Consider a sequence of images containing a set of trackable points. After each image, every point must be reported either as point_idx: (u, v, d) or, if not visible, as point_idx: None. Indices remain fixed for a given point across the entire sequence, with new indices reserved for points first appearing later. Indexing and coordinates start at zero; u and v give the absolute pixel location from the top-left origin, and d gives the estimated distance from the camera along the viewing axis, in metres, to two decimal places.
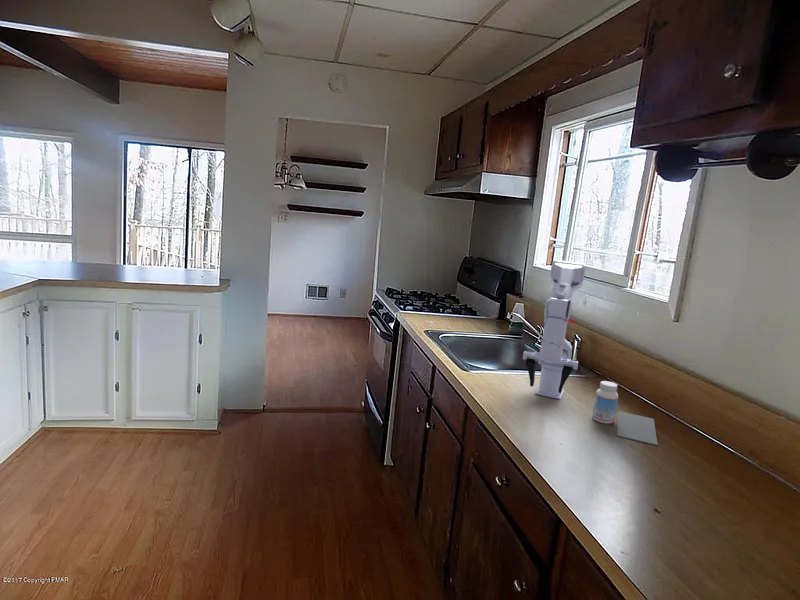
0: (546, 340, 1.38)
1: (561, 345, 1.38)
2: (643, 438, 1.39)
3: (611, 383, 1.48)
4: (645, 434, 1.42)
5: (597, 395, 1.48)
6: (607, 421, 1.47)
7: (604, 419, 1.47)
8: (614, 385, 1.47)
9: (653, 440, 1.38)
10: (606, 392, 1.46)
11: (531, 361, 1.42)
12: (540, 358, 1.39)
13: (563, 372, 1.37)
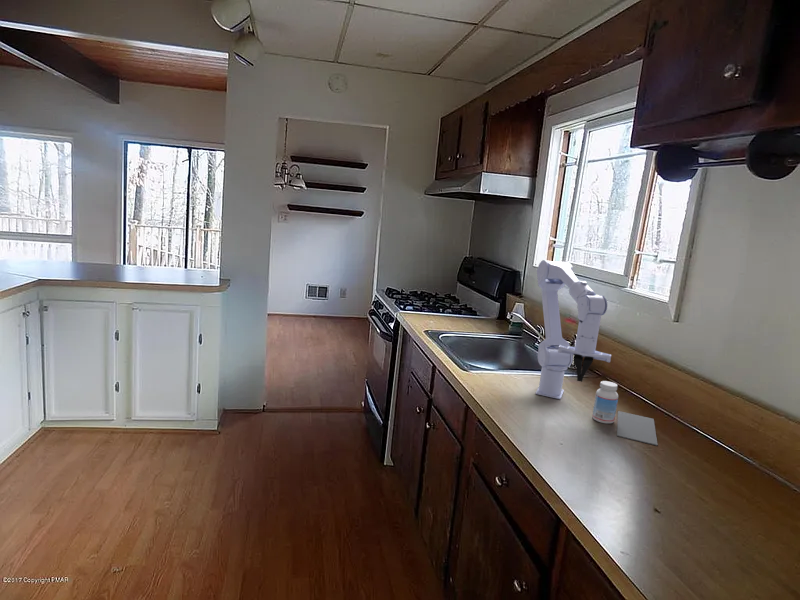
0: (587, 336, 1.46)
1: (595, 339, 1.46)
2: (643, 438, 1.39)
3: (611, 383, 1.48)
4: (645, 434, 1.42)
5: (597, 395, 1.48)
6: (607, 421, 1.47)
7: (604, 419, 1.47)
8: (614, 385, 1.47)
9: (653, 440, 1.38)
10: (606, 392, 1.46)
11: (578, 357, 1.49)
12: (575, 351, 1.48)
13: (584, 362, 1.47)
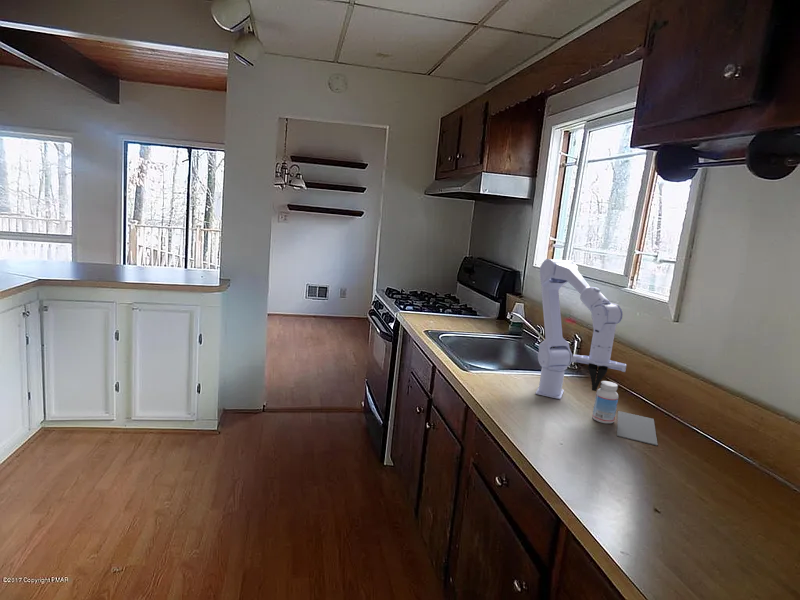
0: (604, 345, 1.44)
1: (610, 348, 1.45)
2: (643, 438, 1.39)
3: (611, 383, 1.48)
4: (645, 434, 1.42)
5: (597, 395, 1.48)
6: (607, 421, 1.47)
7: (604, 419, 1.47)
8: (614, 385, 1.47)
9: (653, 440, 1.38)
10: (606, 392, 1.46)
11: (593, 366, 1.48)
12: (590, 361, 1.47)
13: (599, 371, 1.46)
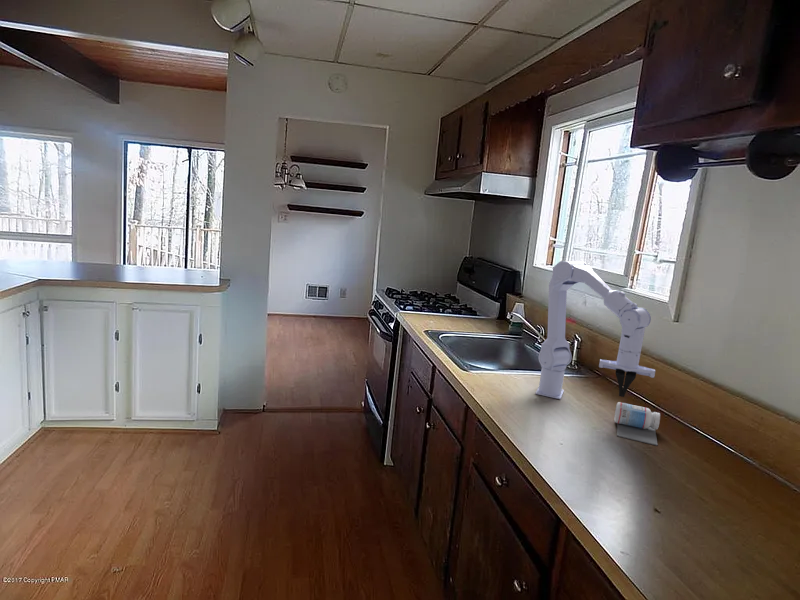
0: (634, 351, 1.42)
1: (639, 354, 1.42)
2: (643, 438, 1.39)
3: None
4: (645, 434, 1.42)
5: (645, 412, 1.43)
6: (618, 420, 1.45)
7: (620, 418, 1.45)
8: None
9: (653, 440, 1.38)
10: (650, 421, 1.43)
11: (621, 372, 1.45)
12: (617, 366, 1.44)
13: (627, 377, 1.43)
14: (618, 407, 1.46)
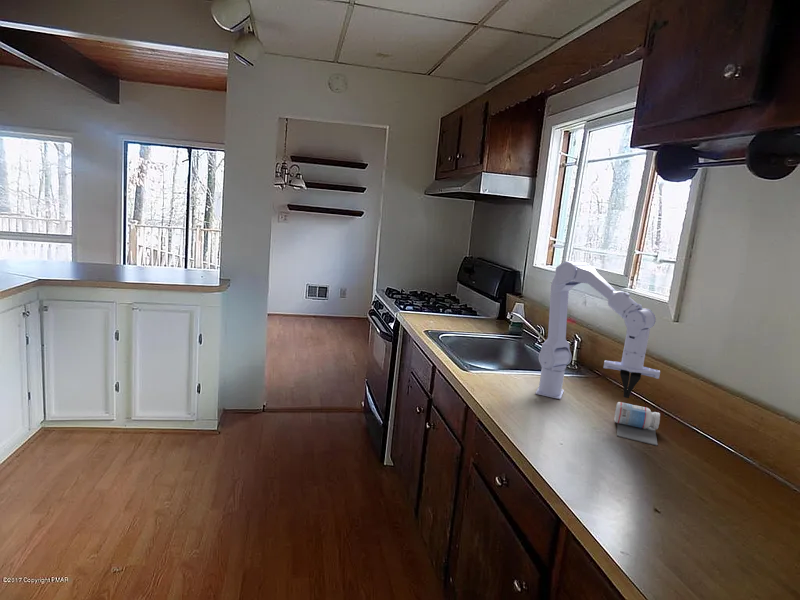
0: (639, 352, 1.41)
1: (644, 355, 1.42)
2: (643, 438, 1.39)
3: None
4: (645, 434, 1.42)
5: (645, 411, 1.43)
6: (618, 420, 1.46)
7: (620, 417, 1.45)
8: None
9: (653, 440, 1.38)
10: (650, 421, 1.43)
11: (625, 373, 1.45)
12: (622, 367, 1.44)
13: (632, 378, 1.43)
14: (618, 406, 1.46)
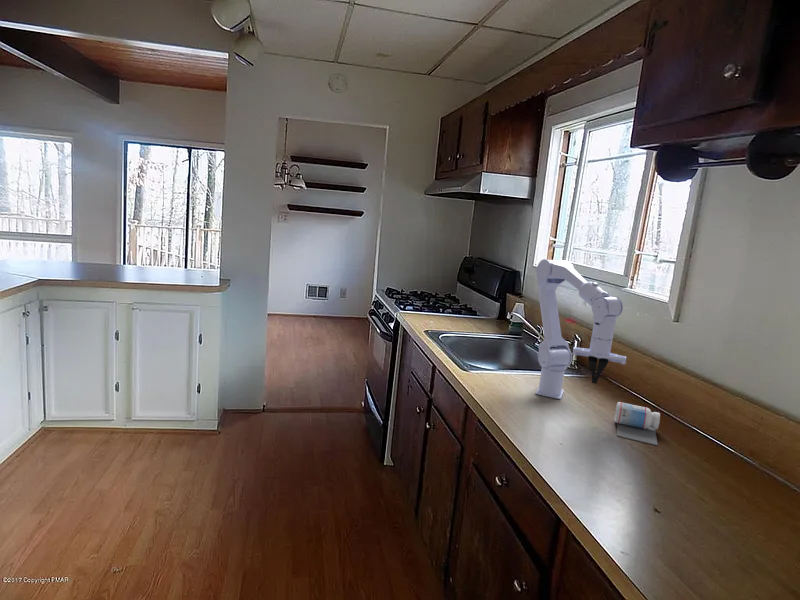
0: (604, 338, 1.45)
1: (610, 341, 1.46)
2: (643, 438, 1.39)
3: None
4: (645, 434, 1.42)
5: (645, 411, 1.43)
6: (618, 420, 1.46)
7: (620, 417, 1.45)
8: None
9: (653, 440, 1.38)
10: (650, 421, 1.43)
11: (593, 359, 1.49)
12: (590, 353, 1.48)
13: (599, 364, 1.47)
14: (618, 406, 1.46)
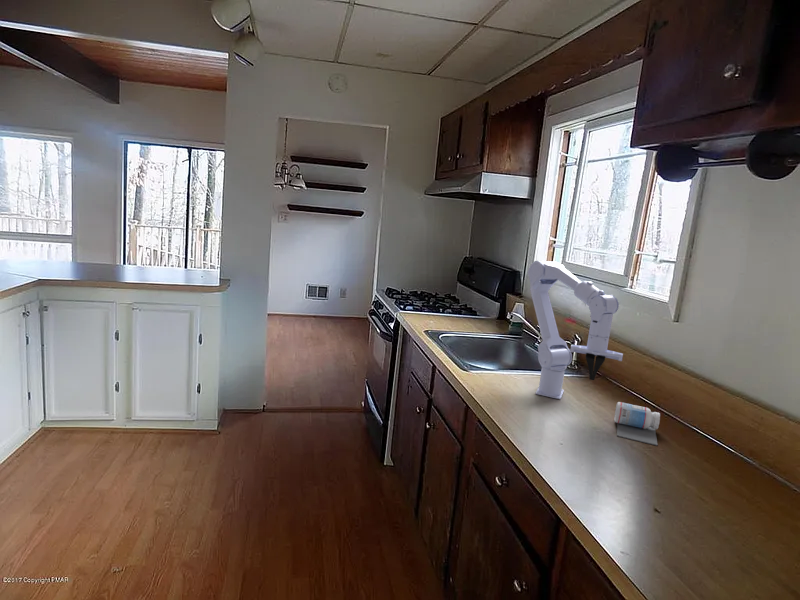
0: (602, 335, 1.48)
1: (607, 338, 1.49)
2: (643, 438, 1.39)
3: None
4: (645, 434, 1.42)
5: (645, 411, 1.43)
6: (618, 420, 1.46)
7: (620, 417, 1.45)
8: None
9: (653, 440, 1.38)
10: (650, 421, 1.43)
11: (590, 356, 1.52)
12: (587, 350, 1.51)
13: (597, 361, 1.50)
14: (618, 406, 1.46)
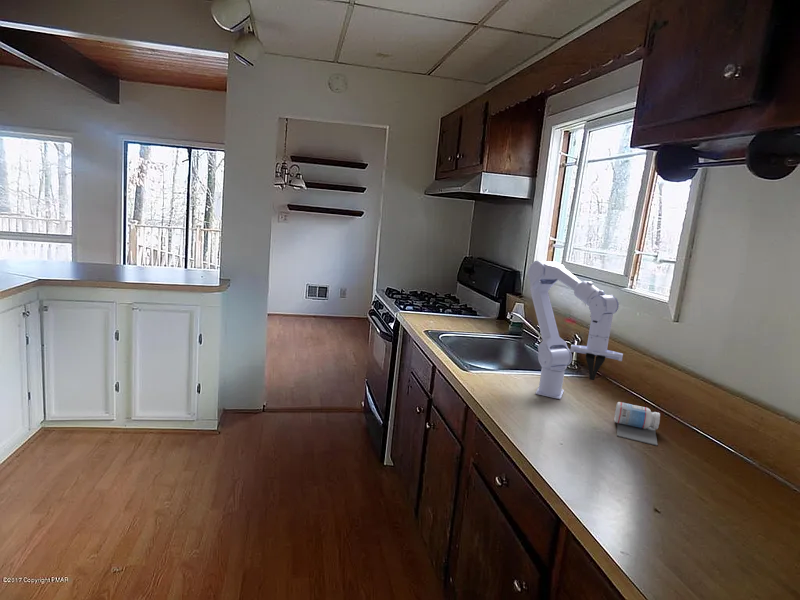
0: (602, 335, 1.48)
1: (607, 338, 1.49)
2: (643, 438, 1.39)
3: None
4: (645, 434, 1.42)
5: (645, 411, 1.43)
6: (618, 420, 1.46)
7: (620, 417, 1.45)
8: None
9: (653, 440, 1.38)
10: (650, 421, 1.43)
11: (590, 356, 1.52)
12: (587, 350, 1.51)
13: (597, 361, 1.50)
14: (618, 406, 1.46)
